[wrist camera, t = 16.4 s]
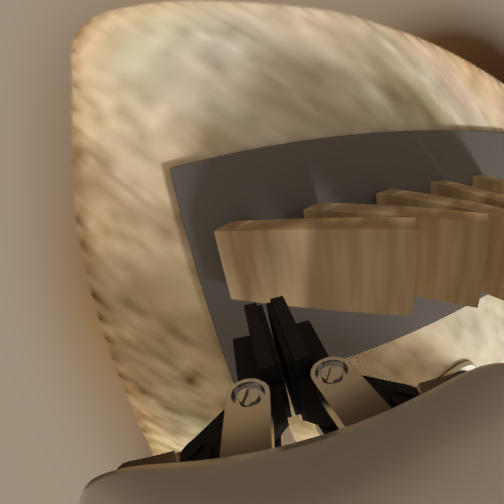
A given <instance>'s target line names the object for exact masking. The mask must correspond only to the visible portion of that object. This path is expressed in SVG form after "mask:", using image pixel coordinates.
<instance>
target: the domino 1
mask: <svg viewBox="0 0 504 504" xmlns="http://www.w3.org/2000/svg"><path fill="white" fill-rule="evenodd" d="M214 234H215V238H216V242H217V246H218V250H219V254H220V258H221V262H222V266H223V270H224V273H225V277H226V281H227V285H228V289H229V292H230V296H231V299H235V300H243V301H250V302H258V303H270V299H272V298H276V297H280V296H283V297H284V299H285V301H286V303H287V305H288V306H293V307H303V308H313V309H323V310H334V311H346V312H358V313H372V314H387V315H404V316H412V314H413V306H414V296H415V284H416V269H417V242H418V228H417V219H416V217H346V218H302V219H272V220H248V221H230V222H229V223H227V224H225V225H224V226H222V227H220V228H219V229H217V230H215V231H214Z"/></svg>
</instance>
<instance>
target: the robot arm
mask: <svg viewBox="0 0 504 504" xmlns="http://www.w3.org/2000/svg"><path fill="white" fill-rule="evenodd" d="M266 307H267V312H268V316H269V321H270V326H271V331H272V334H271V331H270V327H269V324H268V321H267V318H266V315H265V312H264V309H263V306H262V305H257V303H256V302H255V303H251V304H247V305H244V310H245V314H246V319H247V324H248V329H249V333H250V335H248V336H244V337H240V338H235V339H233V348H234V355H235V363H236V371H237V378H238V382H236V383H235V384H234V385H232V386H231V387H230V389H229V390H228V392H227V395H226V403H225V409H224V410H223V411H222V412H221V413H220V414H219V415H218V416H217V417H216V418H215V419H214V420H213V421H212V422H211V423H210V424H209V425H208V426H207V427H206V428H205V429H204V430H203V431H201V432H200V433H199V434H198V435H197V436H196V437H195V438H194V439H193V440H192V441H191V442H189V443H188V444H187V445H186V446H185V447H184V449H183V450H182V451H181V452H178V453H175V451H171V452H167V453H163V454H159V455H155V456H151V457H147V458H142V459H137V460H133V461H128V462H125V463H123V464H122V465H120V466H119V467H118V469H117V470H114V471H111V472H108V473H104V474H102V475H100V476H98V477H96V478H94V479H92V480H91V481H90V482H89V483H88V484H87V485H86V486H85V488H84V490H83V492H82V494H81V496H80V499H79V502H78V504H504V363H493V364H489V365H484V366H480V367H477V368H476V366H475V365H474V364H473V363H472V362H471V361H466V362H462V363H460V364H458V365H456V366H455V367H453V368H452V369H450V370H449V371H448V372H446V373H445V374H444V375H443V376H442V377H439V378H436V379H433V380H429V381H426V382H422V383H419V384H418V387H413V386H410V385H406V384H401V383H396V382H391V381H386V380H381V379H377V378H372V377H368V376H363V375H361V374H360V373H359V372H358V371H357V370H356V368H355V367H354V366H353V365H352V364H351V363H350V362H349V361H347V360H346V359H344V358H341V357H329V356H328V354H327V352H326V350H325V348H324V347H323V345H322V343H321V341H320V339H319V337H318V336H317V334H316V332H315V330H314V328H313V326H312V325H311V323H310V321H309V320H307V321H303V322H299V323H296V322H295V320H294V318H293V316H292V314H291V312H290V310H289V308H288V305H287V303H286V301H285V299H284V297H283V296H280V297H276V298H272V299H270V303H266ZM272 335H273V337H272ZM285 383H286V384H285ZM286 386H287V389H288V392H289V395H290V398H291V402H292V405H293V408H294V411H295V414H296V415H299V414H301V415H302V418H303V421H305V420H306V421H308V422H311V423H313V424H315V426H316V429H317V431H318V432H319V434H320V436H317V437H314V438H310V439H307V440H303V441H300V442H296V443H292V444H288V445H284V446H283V439H282V434H283V432H284V431H285V430H286V428H287V427H288V426H289V424H288V419H287V418H288V417H292V415H291V410H290V405H289V400H288V395H287V390H286Z"/></svg>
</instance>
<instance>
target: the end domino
mask: <svg viewBox="0 0 504 504" xmlns="http://www.w3.org/2000/svg"><path fill="white" fill-rule="evenodd" d="M473 187H476V188H480V189H483V190H487V191H491V192H494V193H497V194H501V195H504V179H500V178H496V177H492V176H487V175H475V176H473Z"/></svg>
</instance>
